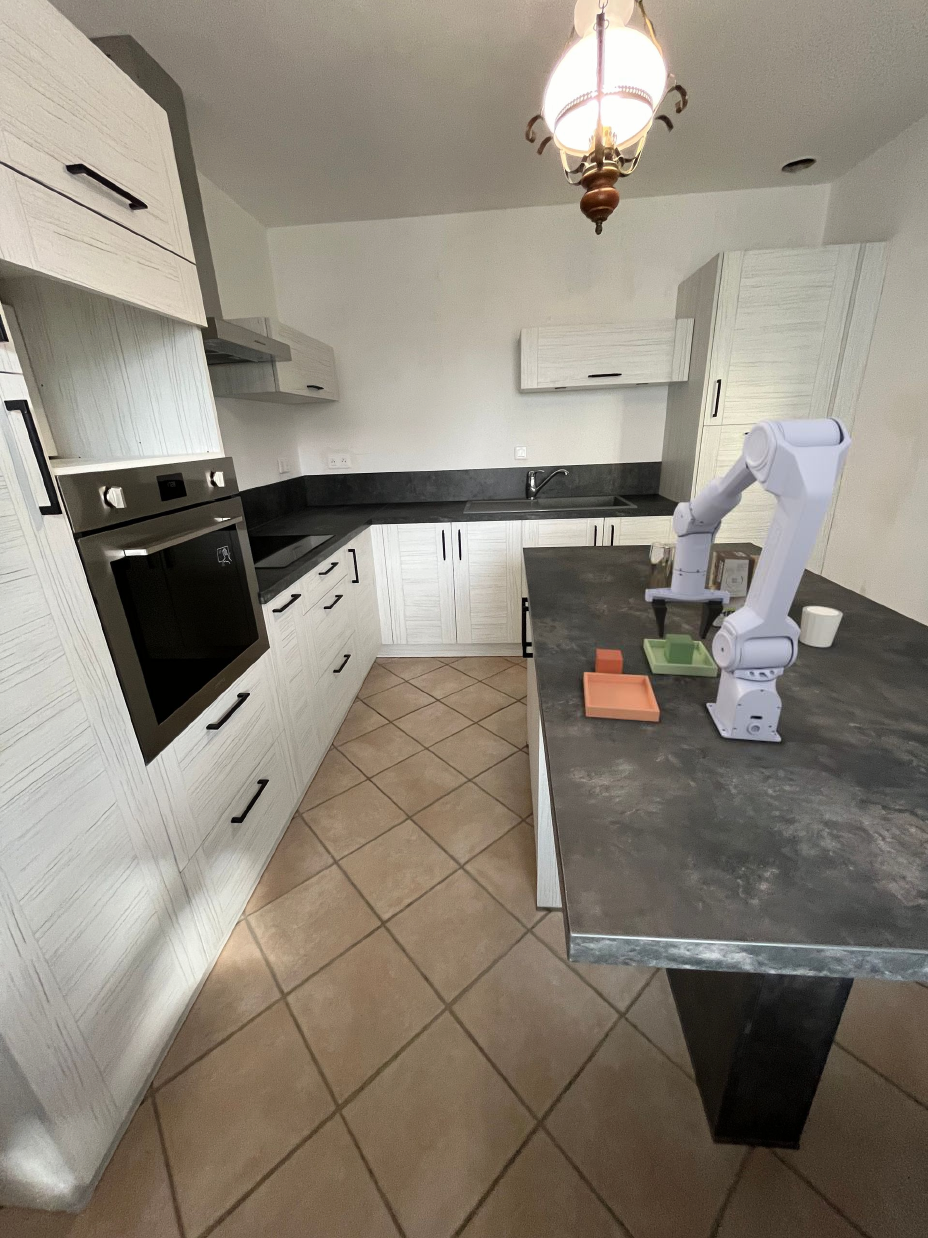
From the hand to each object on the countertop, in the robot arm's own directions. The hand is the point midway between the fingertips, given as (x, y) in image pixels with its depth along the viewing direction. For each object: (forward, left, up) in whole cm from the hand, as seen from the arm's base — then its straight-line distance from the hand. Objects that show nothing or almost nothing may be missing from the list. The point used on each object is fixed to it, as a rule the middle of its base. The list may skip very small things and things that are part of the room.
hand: (681, 636), depth 95 cm
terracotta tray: (-17, +13, -5) cm, 22 cm away
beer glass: (+39, -3, -6) cm, 40 cm away
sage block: (0, 0, -5) cm, 5 cm away
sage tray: (0, 0, -5) cm, 5 cm away
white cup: (+13, -30, -6) cm, 33 cm away
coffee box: (+24, -15, -6) cm, 29 cm away
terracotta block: (-8, +14, -5) cm, 17 cm away
